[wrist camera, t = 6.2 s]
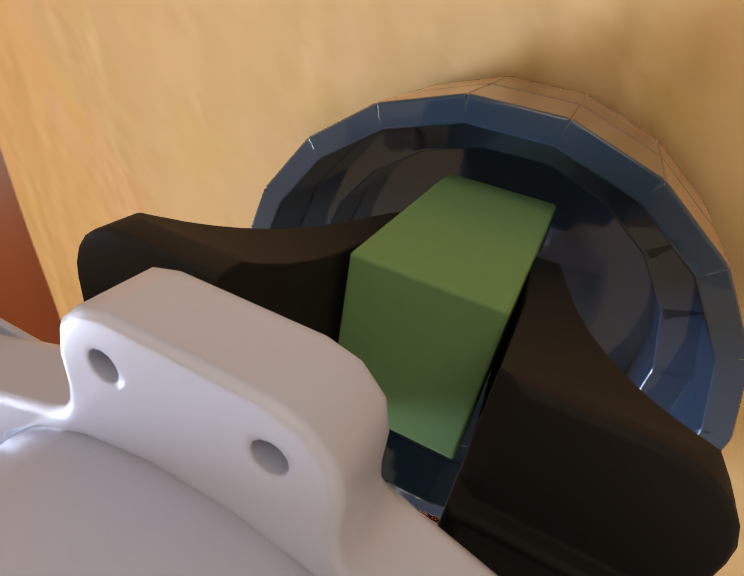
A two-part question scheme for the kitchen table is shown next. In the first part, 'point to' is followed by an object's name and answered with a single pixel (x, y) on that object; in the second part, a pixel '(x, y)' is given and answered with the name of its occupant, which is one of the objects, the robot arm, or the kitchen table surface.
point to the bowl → (546, 235)
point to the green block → (440, 302)
